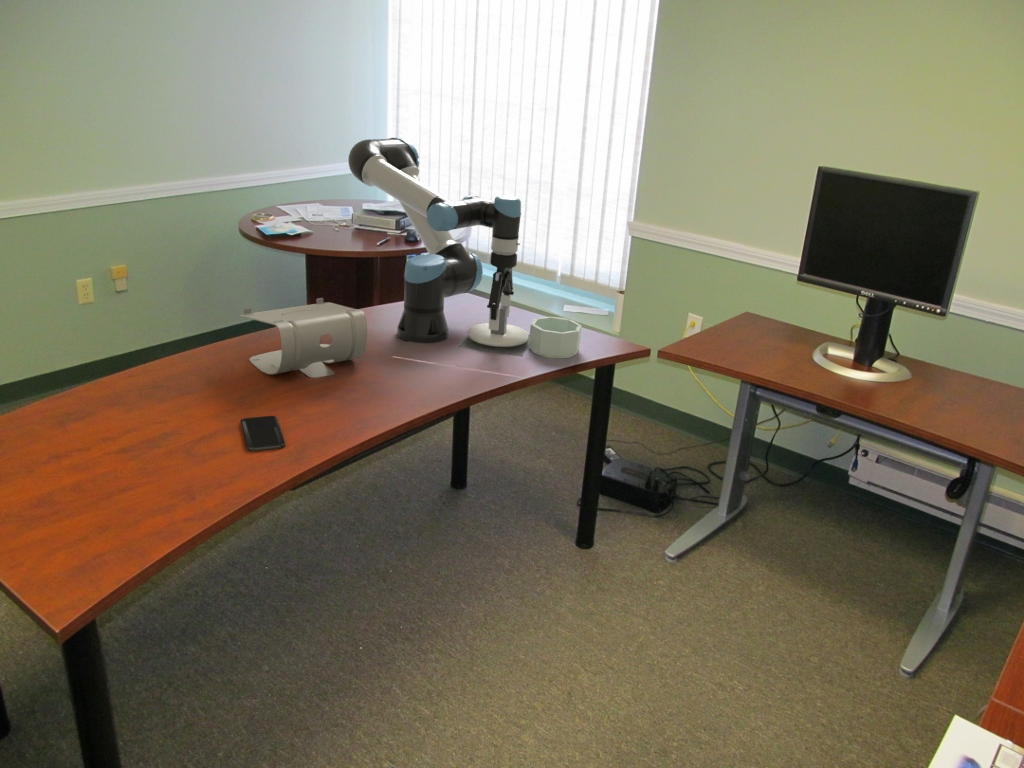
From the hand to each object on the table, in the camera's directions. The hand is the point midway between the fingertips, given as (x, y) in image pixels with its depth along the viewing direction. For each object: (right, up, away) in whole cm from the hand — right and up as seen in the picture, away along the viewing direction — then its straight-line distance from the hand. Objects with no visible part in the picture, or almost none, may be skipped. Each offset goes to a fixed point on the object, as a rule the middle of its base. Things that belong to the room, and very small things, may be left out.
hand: (499, 322), depth 241 cm
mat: (0, -6, +2) cm, 6 cm away
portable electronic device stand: (-51, -13, -24) cm, 58 cm away
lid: (0, -5, +2) cm, 6 cm away
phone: (-50, -29, -63) cm, 86 cm away
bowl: (+16, -8, -1) cm, 18 cm away
